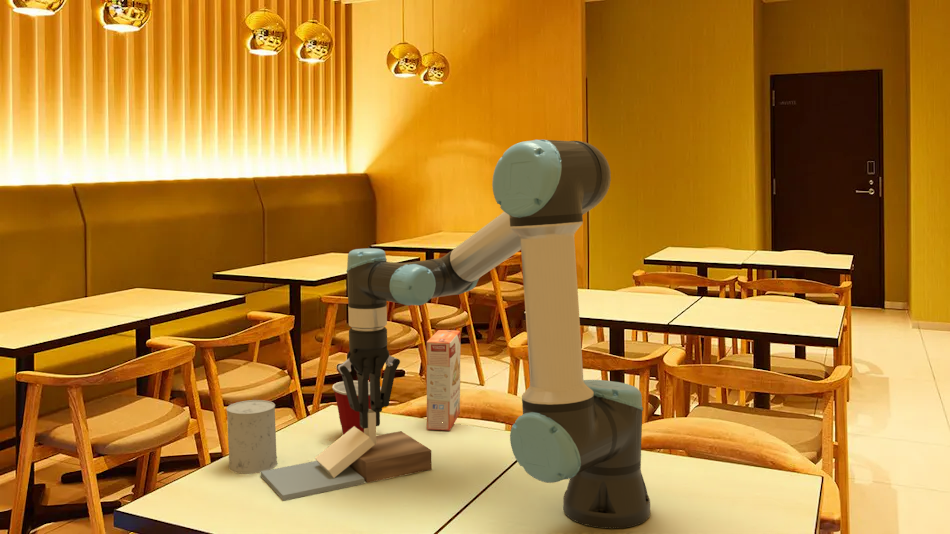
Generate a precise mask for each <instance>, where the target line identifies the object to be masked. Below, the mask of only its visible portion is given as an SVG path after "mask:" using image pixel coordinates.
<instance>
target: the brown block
mask: <svg viewBox="0 0 950 534" xmlns="http://www.w3.org/2000/svg"><path fill="white" fill-rule="evenodd" d="M349 466H350V467H351V468H352V469H353V470H354V471H356V472H357V473H358V474H359V475H361V476H362V477H363V478H364V483H366V484H368V483H373V482H377V481H379V482H380V481H383V480H389V479H392V478H396V477H401V476H403V477H404V476H407V475H411V474H417V473H420V472H426V471H430V470H432V469H433V468H432V467H433V466H432V449H430V448H428V447H427V446H425V445H424V444H423V443H420V442H419V441H418V440H416V439H414V438H413V437H411V436H410V435H408V434H406V433H405V432H403V431H400V430H399V431H394V432H389V433H384V434H378V435H377V434H376V444H375V445H374V446H372V447H371V448H370V449H369V450H368V451H366V452H365V453H364V454H363V455H362V456H360V457H359V458H358V459H357V460H355V461H354V462H353V463H352V464H351V465H349Z"/></svg>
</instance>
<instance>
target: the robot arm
mask: <svg viewBox="0 0 950 534" xmlns="http://www.w3.org/2000/svg"><path fill="white" fill-rule="evenodd" d="M611 174H612V172H611V168H610V165H609V162H608V160H607V158H606V156H605V155H604V154H603V153H602V152H601V150H599V149H598V148H597V147H596V146H594V145H593V144H591V143H589V142H585V141H581V140H558V139H557V140H553V139H533V140H526V141H521V142H518V143H515V144H513V145H511V146H510V147H509V148H507V149H506V150H505V151H504V152H503V154H502V156H501V157H500V158H499V159H498V161H497V163H496V165H495V167H494V170H493V174H492V184H491V185H492V192H493V196H494V200H495V202H496V204H498V205H500V207H499V208H500V210H502V212H501V213H500V214H499V215H498V216H496V217H495V218H494V219H492V220H491V221H490V222H488V223H487V224H486V225H484V226H482V227H481V228H480V229H479V230H477V231H476V232H475V233H474V234H472V235H470V237H468V238H466V239H465V240H464V241H463V242H461V243H460V244H458V245H457V246H455V247H454V249H452V250H450V251H449V252H447V254H445V255H444V256H442V257H439V258H433V259H432V258H431V259H426V260H418V261H412V262H411V261H409V262H392V261H388V260H387V256H386V251H385V250H383V249H381V248H373V247H372V248H371V247H369V248H355V249H352V250H350V251H349V252H348V254H347V267H346V273H347V274H346V275H347V302H348V304H347V305H348V306H347V308H348V309H347V310H348V326H349V327H350V328H349V329H348V348H349V351H348V353H347V359H346V360H345V361H343V362H342V363H338V364H337V365H336V369H337V371H338V372H339V373H340V375H341V377H342V381H343V382H344V386H345V390H346V393H347V397H348V401H349V404H350V408H352V409H353V410H355V411H357V412H359V413H360V426H361V427H362V428H363V429H364V433H365V434H366V435H367V436H369V437H370V438H371V440H372V441H373V443H374V444H376V436H377V427H379V426H380V424H381V412H383V411H382V410H383V409H384V408H387V407H388V406H389V404H390V400H391V396H392V395H391V394H392V391H393V385H394V381H395V375H396V371H397V369H398V367H399V365H400V363H401V360H400V359H399V358H397V357H395V356H392V355H390V351H389V349H388V329H387V327H385V326H387V324H388V314H387V313H388V310H387V305H388V303H387V302H391V303H395V304H397V303H398V304H401V305H405V306H409V307H410V306H422V305H425V304H427V303H428V302H429V301H430V300H431V299H436V298H440V297H447V296H455V295H457V296H458V295H462V294H464V293H468V292H469V291H472V290H474V288H476V286H477V284H478V282H479V279H480V278H481V277H482V276H484V275H486V274H487V273H488V272H490V271H491V270H493V269H495V268H496V267H498V266H499V265H500V264H502V263H503V262H505V261H506V260H508V259H509V258H511V257H512V256H514V255H515V254H516V253H518V252H520V251H521V262H522V263H521V267H522V278H523V279H522V281H523V297H524V310H525V323H526V324H525V325H526V327H525V328H526V337H527V352H528V369H529V380H530V381H529V387H528V388H527V389H525V391H524V392H523V393H522V394H521V402H522V403H521V404H522V408H521V409H522V415H519V416H518V417H517V419H516V420H515V423H513V424H512V426H511V429H510V435H509V443H510V446H511V447H510V448H511V450H512V453H513V456H514V458H515V460H516V462H517V464H518V465H519V466H521V467H522V468H523V469H524V471H525V473H527V475H529V476H530V477H532V478H533V479H535V480H538V481H540V482H542V483H549V484H551V483H552V484H555V483H559V482H561V481H563V480H569V481H568V484H567V488H566V490H565V492H564V494H563V500H562V501H563V505H562V506H563V507H562V509H563V512H564V515H566V516H567V517H568V518H569V519H570V520H572V521H574V522H576V523H580V524H582V525H584V526H590V527H594V528H601V529H623V528H631V527H634V526H635V527H636V526H638V525H640V524H643V523H644V522H645V521H647V520H648V519H650V516H651V499H650V496H649V495H648V490H647V487H646V483H645V480H644V477H643V473H642V469H641V468H642V466H641V465H642V461H641V460H642V435H643V433H642V428H643V423H642V422H643V411H644V407H643V400H642V399H643V397H642V392H641V390H639V389H638V387H636V386H634V385H631V384H628V383H624V382H620V381H612V380H603V379H584V369H583V367H584V366H583V354H582V353H583V352H582V337H581V336H582V335H581V323H580V322H581V321H580V320H581V319H580V309H579V308H580V306H579V295H578V294H579V289H578V288H579V287H578V274H577V260H576V258H577V257H576V246H575V235H576V232H577V231H578V230H579V228H580V227H581V226H582V225H583V223H584V220H583V219H584V218H583V215H585V214H586V213H588V212H589V211H591V210H592V209H594V208H595V207H596V206H598V205H599V204H600V203H601V202H602V201H603V200H604V198H605V197H606V195H607V194H608V191H609V189H610V187H611V181H612V178H611V177H612V176H611ZM384 365H385V369H384V371H383V377H382V369H383V367H384ZM352 368H353V369H354V370H355V372H356V376H357V381H358V397H357V394H356V390H355V386H354V382H353V381H354V379H353V375H352V374H351V372H352ZM381 378H382V382H381ZM368 382H370V406H371V409H369V397H368ZM380 387H381V391H380Z"/></svg>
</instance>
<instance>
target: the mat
mask: <svg viewBox="0 0 950 534" xmlns="http://www.w3.org/2000/svg"><path fill="white" fill-rule="evenodd" d="M260 477H261V478H262V479H263V480H264V482H265V483H267V485H269V487H270V488H271V489H272V490H273V491H274V492H275V494H277V496H278V497H279V498H280V499H281V500H282V501H283V502H284V501H288V500H292V499H293V500H294V499H297V498H304V497H307V496H312V495H317V494H320V493H325V492H330V491H336V490H340V489H345V488H350V487H355V486H359V485H364V484H365V483H366V482H365V481H364V478H363V477H362V476H361V475H359V474H358V473H357V472H356V471H354V470H353V469H352V468H351V467H350V466H348V467H347V468H346V469H344V470H343V471H342V472H341V473H340V474H338V475H337V476H336V477H335V478H333V477H332V476H331V475H330V474H329V473H328V472H327V471H325V470H324V469H323V468H322V467H321V466H320V465H319V464H318V462H317V461H316V460H314V461H308V462H304V463H299V464H292V465H287V466H282V467H277V468H272V469H270V470H266V471H261V472H260Z"/></svg>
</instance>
